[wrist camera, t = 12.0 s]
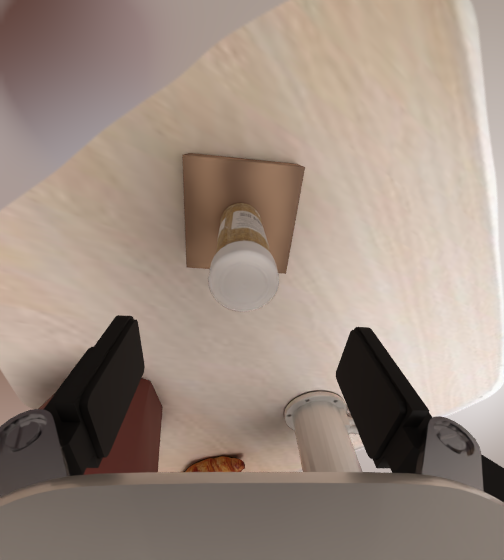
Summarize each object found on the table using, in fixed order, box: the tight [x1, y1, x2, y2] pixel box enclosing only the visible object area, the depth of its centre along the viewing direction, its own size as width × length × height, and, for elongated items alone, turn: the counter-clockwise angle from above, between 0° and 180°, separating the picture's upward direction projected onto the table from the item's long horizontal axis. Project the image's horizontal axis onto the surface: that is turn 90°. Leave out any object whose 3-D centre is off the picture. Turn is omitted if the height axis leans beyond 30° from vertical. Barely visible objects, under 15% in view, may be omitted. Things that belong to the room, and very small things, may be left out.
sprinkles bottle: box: [208, 203, 279, 312], centre depth 22 cm, size 5×5×14 cm
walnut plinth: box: [183, 153, 305, 274], centre depth 29 cm, size 12×12×4 cm
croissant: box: [185, 456, 245, 472], centre depth 58 cm, size 21×10×8 cm, turn 126°
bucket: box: [39, 378, 162, 475], centre depth 35 cm, size 24×22×25 cm
